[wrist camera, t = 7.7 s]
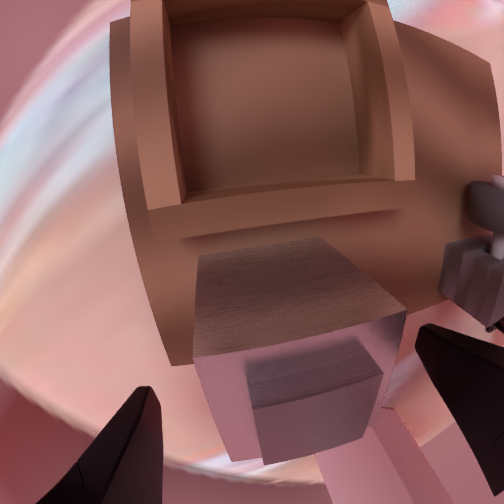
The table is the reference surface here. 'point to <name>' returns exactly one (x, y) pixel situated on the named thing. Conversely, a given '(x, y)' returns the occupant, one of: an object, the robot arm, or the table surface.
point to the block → (292, 348)
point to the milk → (381, 468)
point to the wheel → (489, 210)
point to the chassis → (302, 147)
